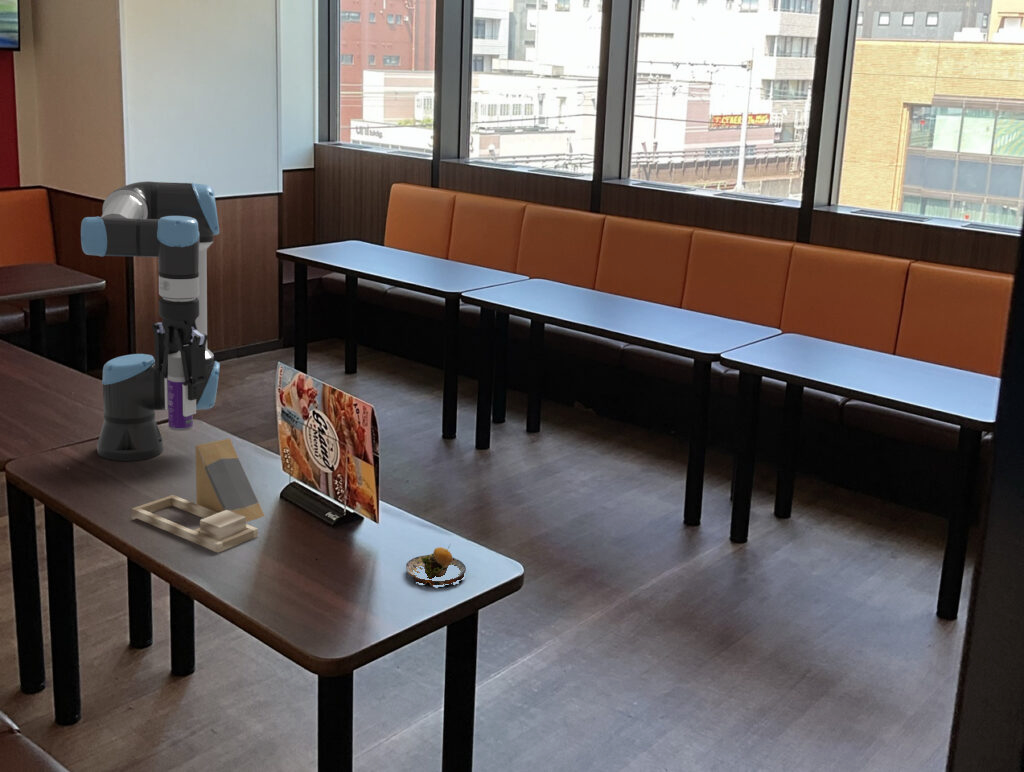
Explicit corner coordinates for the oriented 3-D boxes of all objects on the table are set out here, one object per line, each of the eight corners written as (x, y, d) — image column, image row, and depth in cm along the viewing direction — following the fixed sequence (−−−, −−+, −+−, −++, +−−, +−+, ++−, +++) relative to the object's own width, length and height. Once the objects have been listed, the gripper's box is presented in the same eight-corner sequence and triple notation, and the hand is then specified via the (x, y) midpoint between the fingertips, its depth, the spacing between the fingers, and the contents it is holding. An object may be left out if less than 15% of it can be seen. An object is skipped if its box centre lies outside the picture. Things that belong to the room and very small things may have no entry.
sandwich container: (235, 534, 221) (235, 465, 217) (195, 511, 231) (194, 444, 227) (270, 524, 227) (271, 457, 223) (230, 501, 237) (230, 437, 233)
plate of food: (434, 557, 218) (436, 522, 216) (478, 576, 211) (480, 541, 209) (391, 575, 209) (393, 539, 207) (436, 595, 202) (438, 559, 200)
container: (163, 428, 215) (162, 355, 211) (178, 421, 220) (177, 350, 215) (183, 432, 214) (182, 359, 210) (197, 425, 218) (197, 354, 214)
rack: (132, 521, 223) (131, 508, 222) (173, 507, 231) (172, 494, 230) (218, 558, 209) (217, 544, 208) (258, 542, 218) (258, 528, 217)
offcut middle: (199, 538, 214) (199, 529, 213) (226, 528, 220) (226, 519, 219) (219, 546, 211) (219, 537, 211) (245, 535, 217) (246, 526, 216)
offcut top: (200, 529, 213) (199, 520, 213) (226, 518, 219) (226, 509, 219) (219, 537, 211) (219, 527, 210) (246, 526, 216) (246, 516, 216)
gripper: (133, 291, 211) (136, 405, 217) (194, 308, 202) (195, 426, 208) (164, 287, 217) (166, 397, 223) (225, 302, 208) (225, 417, 214)
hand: (180, 411), depth 216 cm, fingers closed on container, 5 cm apart
